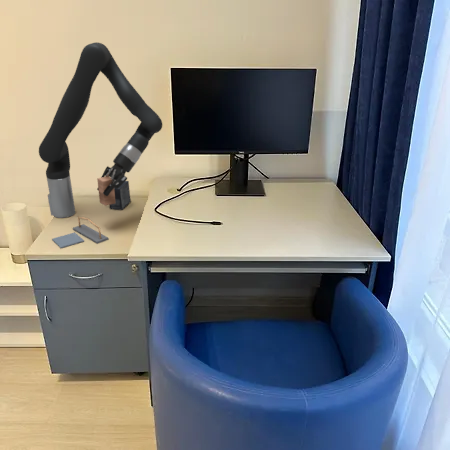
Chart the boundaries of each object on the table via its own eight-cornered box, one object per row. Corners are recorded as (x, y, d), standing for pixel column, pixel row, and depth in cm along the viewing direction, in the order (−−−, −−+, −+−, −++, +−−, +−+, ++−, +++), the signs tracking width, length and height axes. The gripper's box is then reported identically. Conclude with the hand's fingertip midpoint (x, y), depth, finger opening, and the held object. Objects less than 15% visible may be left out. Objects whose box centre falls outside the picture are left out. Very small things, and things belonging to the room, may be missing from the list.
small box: (118, 200, 202) (115, 179, 198) (131, 201, 201) (129, 180, 197) (108, 209, 193) (106, 187, 188) (122, 210, 192) (120, 188, 187)
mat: (60, 248, 159) (60, 247, 158) (52, 239, 165) (51, 238, 165) (84, 241, 164) (84, 240, 164) (74, 233, 170) (74, 232, 170)
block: (104, 205, 167) (102, 181, 163) (99, 202, 170) (97, 178, 166) (115, 203, 170) (113, 179, 165) (110, 199, 173) (108, 176, 169)
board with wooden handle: (97, 244, 162) (95, 227, 159) (72, 230, 173) (70, 213, 170) (108, 240, 166) (106, 223, 163) (83, 226, 177) (81, 210, 174)
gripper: (112, 148, 171) (86, 182, 169) (130, 156, 161) (103, 193, 159) (125, 158, 176) (100, 192, 174) (143, 167, 167) (117, 203, 165)
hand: (102, 192), depth 167 cm, fingers closed on block, 4 cm apart
